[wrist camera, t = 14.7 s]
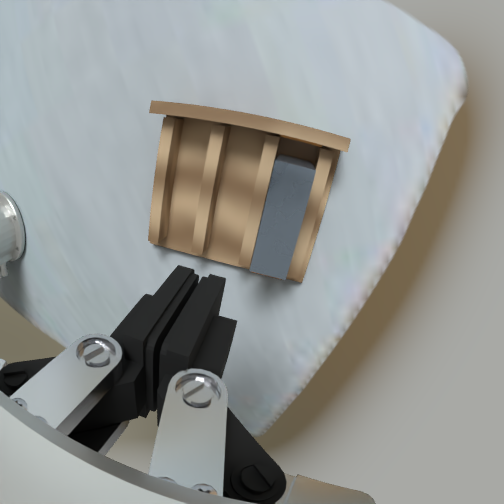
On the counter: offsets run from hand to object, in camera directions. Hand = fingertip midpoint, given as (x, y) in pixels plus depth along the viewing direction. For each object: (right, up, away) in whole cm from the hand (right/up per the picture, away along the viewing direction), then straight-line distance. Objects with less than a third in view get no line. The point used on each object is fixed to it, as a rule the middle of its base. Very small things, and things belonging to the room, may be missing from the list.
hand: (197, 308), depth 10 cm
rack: (+1, +8, +21) cm, 22 cm away
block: (+5, +7, +19) cm, 21 cm away
